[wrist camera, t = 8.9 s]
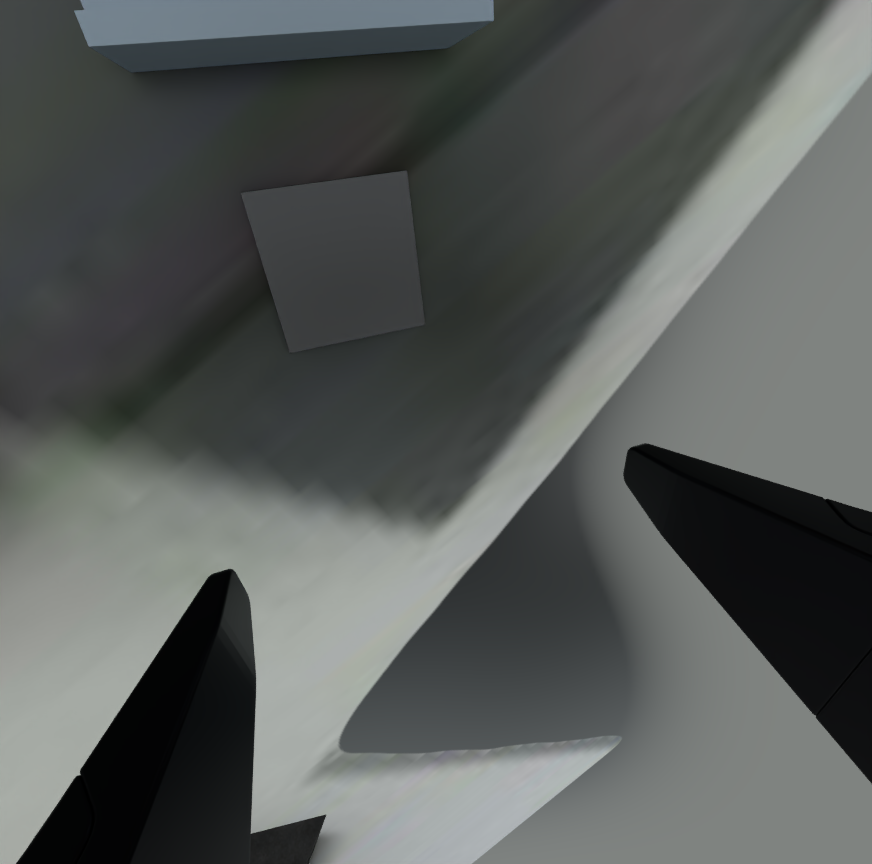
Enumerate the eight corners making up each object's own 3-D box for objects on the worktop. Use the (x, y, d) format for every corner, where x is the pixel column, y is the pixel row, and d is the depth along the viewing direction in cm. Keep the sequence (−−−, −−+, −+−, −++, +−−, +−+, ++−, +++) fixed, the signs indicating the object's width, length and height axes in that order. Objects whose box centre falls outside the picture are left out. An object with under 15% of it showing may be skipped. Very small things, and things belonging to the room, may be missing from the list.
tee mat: (289, 351, 19) (290, 353, 18) (241, 192, 15) (240, 192, 15) (423, 323, 20) (425, 324, 20) (405, 170, 17) (407, 170, 16)
